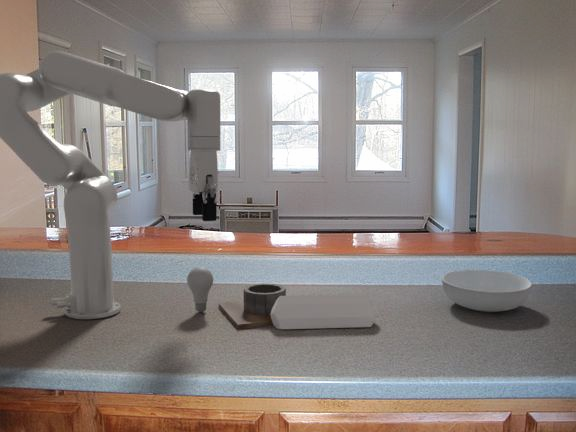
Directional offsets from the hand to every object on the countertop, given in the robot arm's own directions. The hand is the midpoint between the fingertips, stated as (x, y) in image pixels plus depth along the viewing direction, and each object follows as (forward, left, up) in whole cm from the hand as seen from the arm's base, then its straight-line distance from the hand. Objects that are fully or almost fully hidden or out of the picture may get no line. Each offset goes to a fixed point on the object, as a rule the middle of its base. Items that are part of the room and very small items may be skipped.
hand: (204, 217), depth 152 cm
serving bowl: (+65, -20, -23) cm, 71 cm away
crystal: (+23, -19, -23) cm, 37 cm away
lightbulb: (-1, -1, -23) cm, 23 cm away
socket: (+13, -7, -23) cm, 27 cm away
